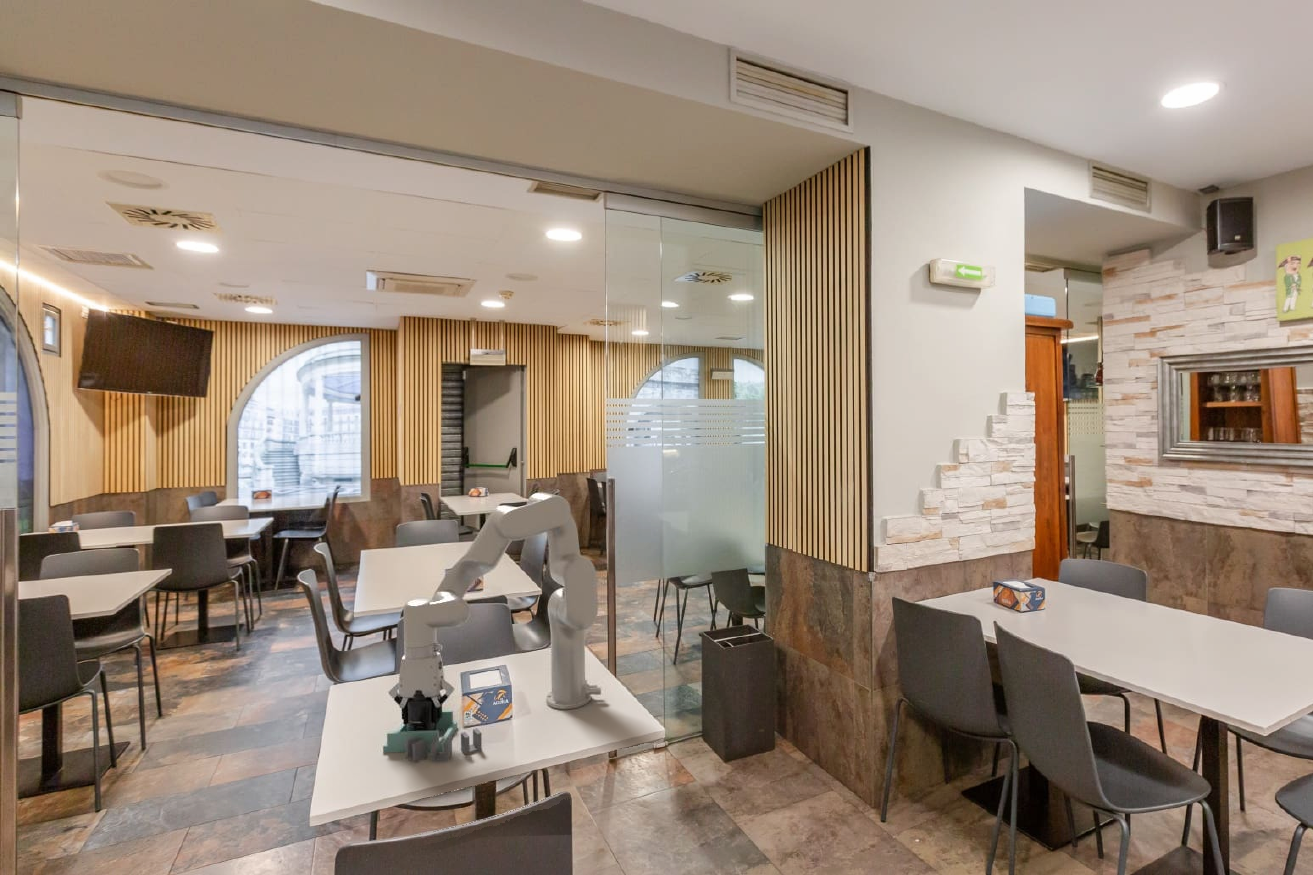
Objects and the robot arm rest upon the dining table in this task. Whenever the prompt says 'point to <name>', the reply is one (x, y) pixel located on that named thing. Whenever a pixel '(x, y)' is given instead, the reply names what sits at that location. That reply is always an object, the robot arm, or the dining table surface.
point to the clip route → (418, 748)
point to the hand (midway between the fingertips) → (422, 720)
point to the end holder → (420, 734)
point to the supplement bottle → (420, 713)
